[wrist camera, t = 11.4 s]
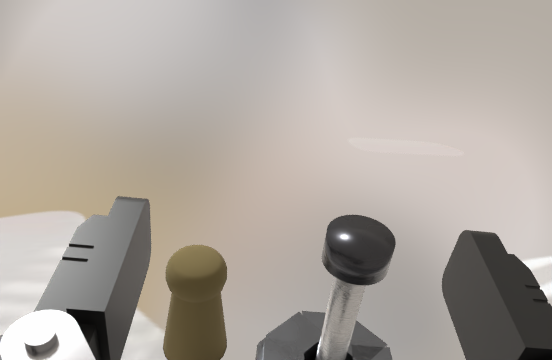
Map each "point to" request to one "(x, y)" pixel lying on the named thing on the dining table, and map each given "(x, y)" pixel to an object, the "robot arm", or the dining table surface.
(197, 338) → the cork
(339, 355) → the plunger
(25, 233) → the dining table surface
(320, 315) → the coffee press
